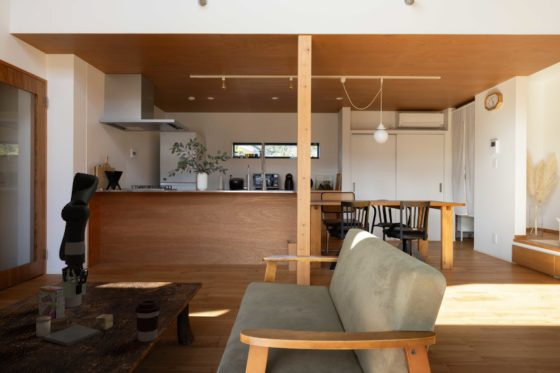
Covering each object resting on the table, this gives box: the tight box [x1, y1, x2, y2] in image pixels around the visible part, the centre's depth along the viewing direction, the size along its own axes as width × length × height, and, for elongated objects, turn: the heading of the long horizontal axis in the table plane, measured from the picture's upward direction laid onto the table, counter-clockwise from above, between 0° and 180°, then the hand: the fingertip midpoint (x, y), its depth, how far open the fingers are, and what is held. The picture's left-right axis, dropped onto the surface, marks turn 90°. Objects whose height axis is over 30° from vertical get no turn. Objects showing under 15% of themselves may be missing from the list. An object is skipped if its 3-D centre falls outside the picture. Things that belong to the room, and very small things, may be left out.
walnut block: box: [50, 317, 68, 333], centre depth 162 cm, size 4×6×4 cm, turn 135°
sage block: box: [63, 279, 87, 298], centre depth 154 cm, size 4×7×6 cm, turn 156°
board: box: [42, 324, 102, 347], centre depth 154 cm, size 15×15×1 cm
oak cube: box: [94, 313, 114, 331], centre depth 164 cm, size 5×5×5 cm
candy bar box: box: [38, 285, 66, 320], centre depth 169 cm, size 11×5×16 cm, turn 71°
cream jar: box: [35, 316, 51, 338], centre depth 156 cm, size 5×5×7 cm
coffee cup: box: [134, 299, 162, 343], centre depth 152 cm, size 10×10×15 cm
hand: (74, 293), depth 154 cm, fingers closed on sage block, 4 cm apart
